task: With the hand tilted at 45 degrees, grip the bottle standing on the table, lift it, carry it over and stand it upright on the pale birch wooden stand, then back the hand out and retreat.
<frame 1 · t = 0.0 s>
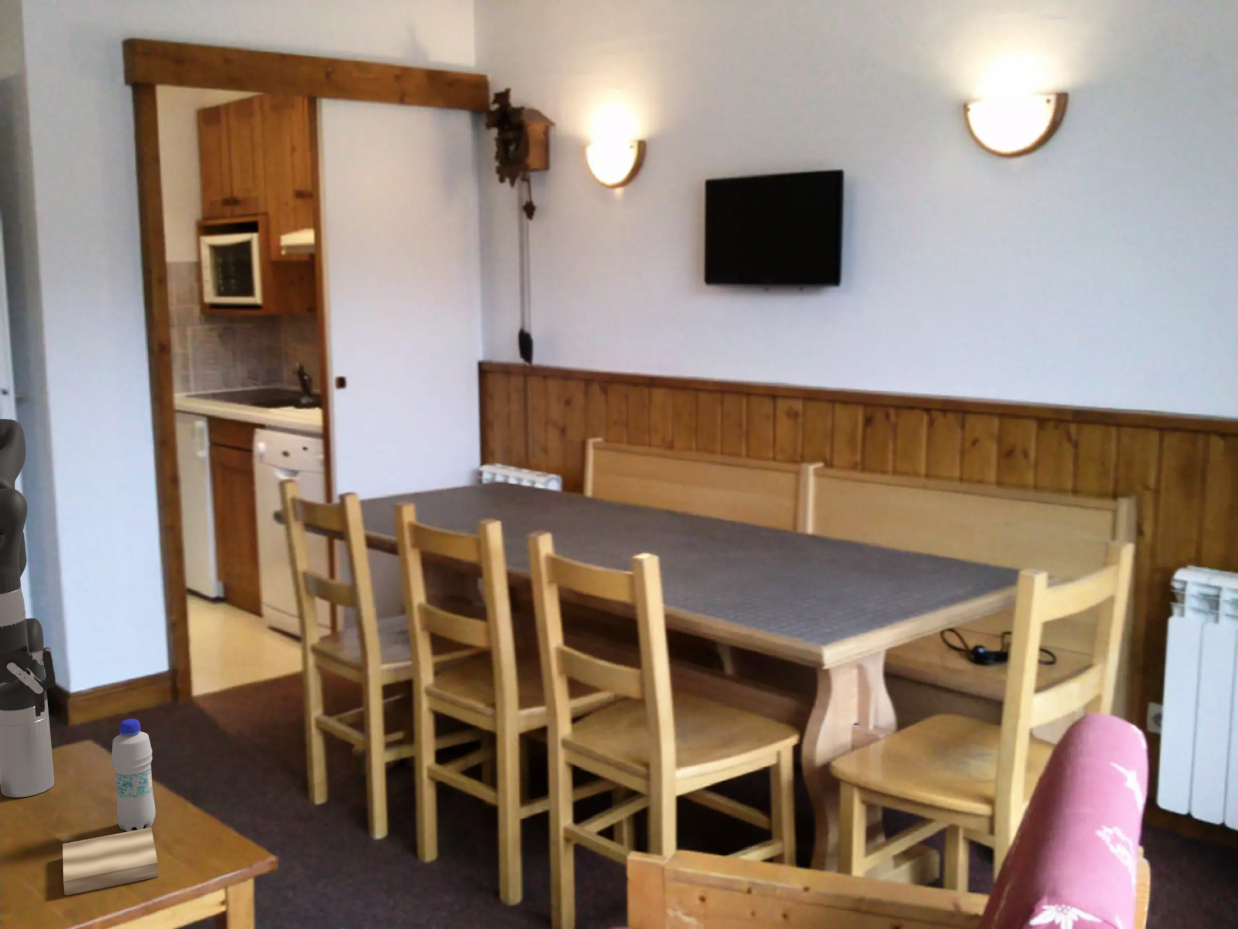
hand: (7, 719, 186), 29 cm above the table, tool pointing down, fingers open, 8 cm apart
birch stand: (110, 867, 200), on the table
bottle: (137, 828, 214), on the table
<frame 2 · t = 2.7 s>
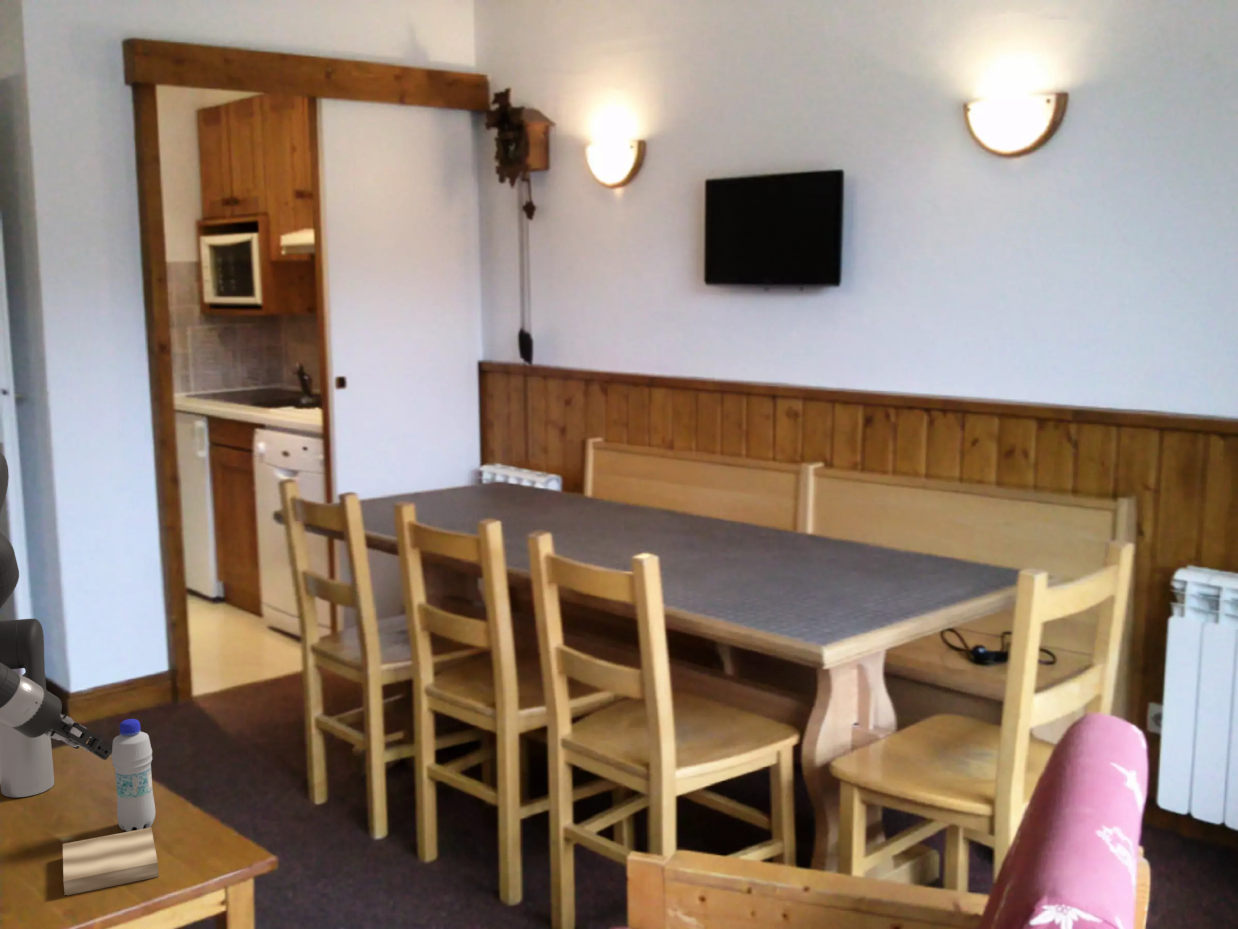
hand: (94, 749, 206), 17 cm above the table, tool tilted 45°, fingers open, 8 cm apart
nothing on the table moved.
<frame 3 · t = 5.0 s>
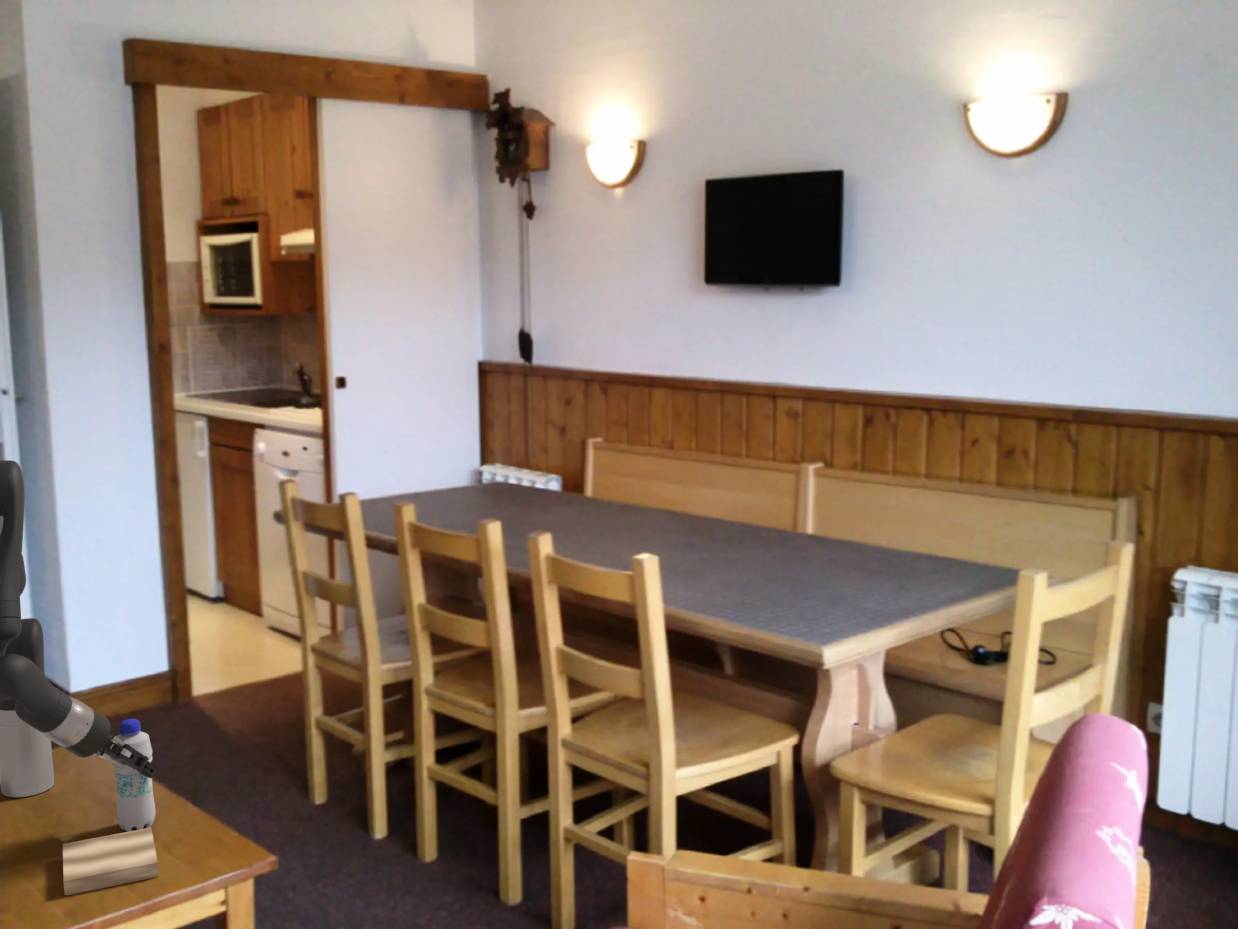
hand: (141, 768, 214), 10 cm above the table, tool tilted 45°, fingers closed on bottle, 6 cm apart
bottle: (137, 827, 214), on the table, touching gripper
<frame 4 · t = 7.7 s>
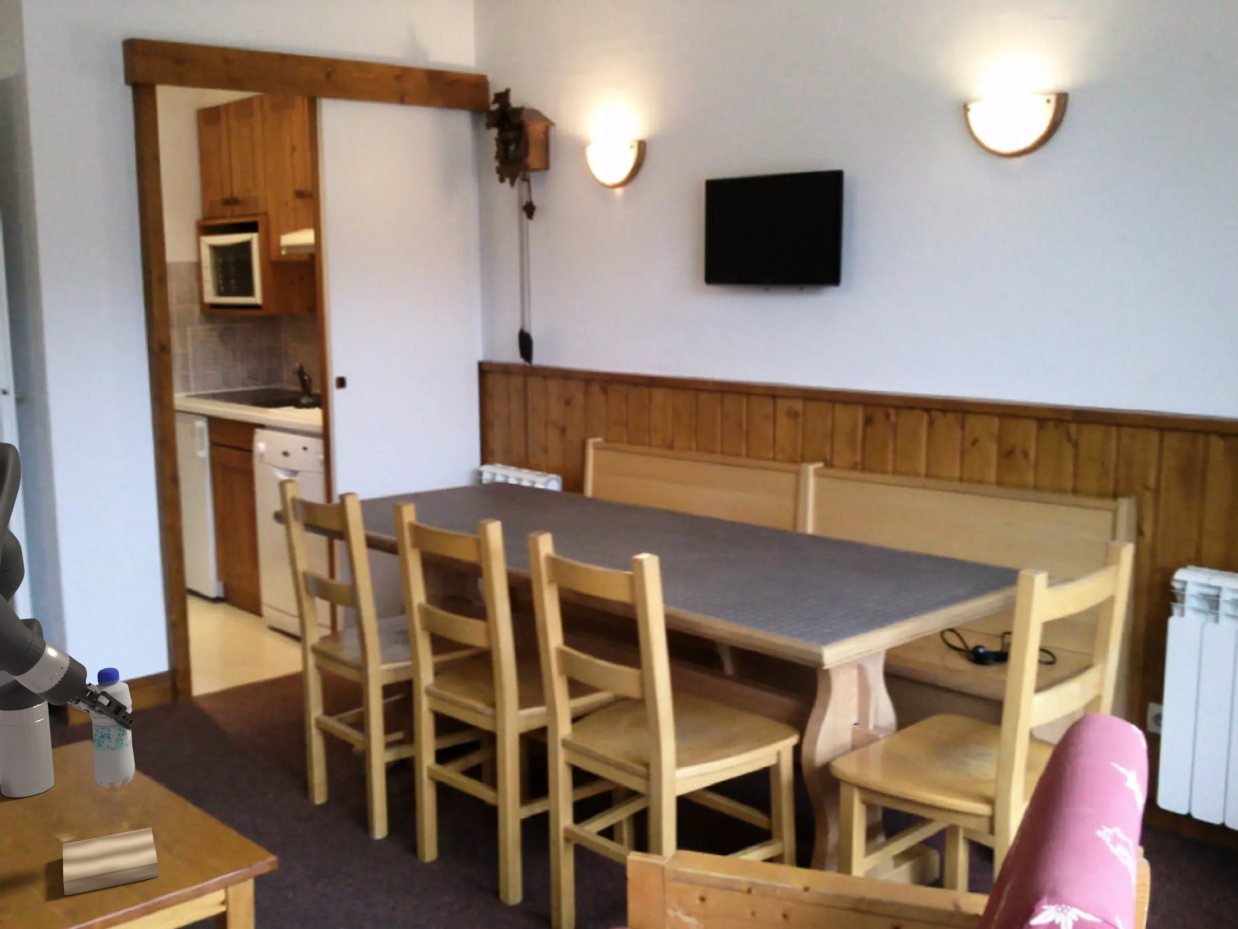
hand: (119, 720, 203), 23 cm above the table, tool tilted 45°, fingers closed on bottle, 6 cm apart
bottle: (115, 784, 203), point 12 cm above the table, touching gripper
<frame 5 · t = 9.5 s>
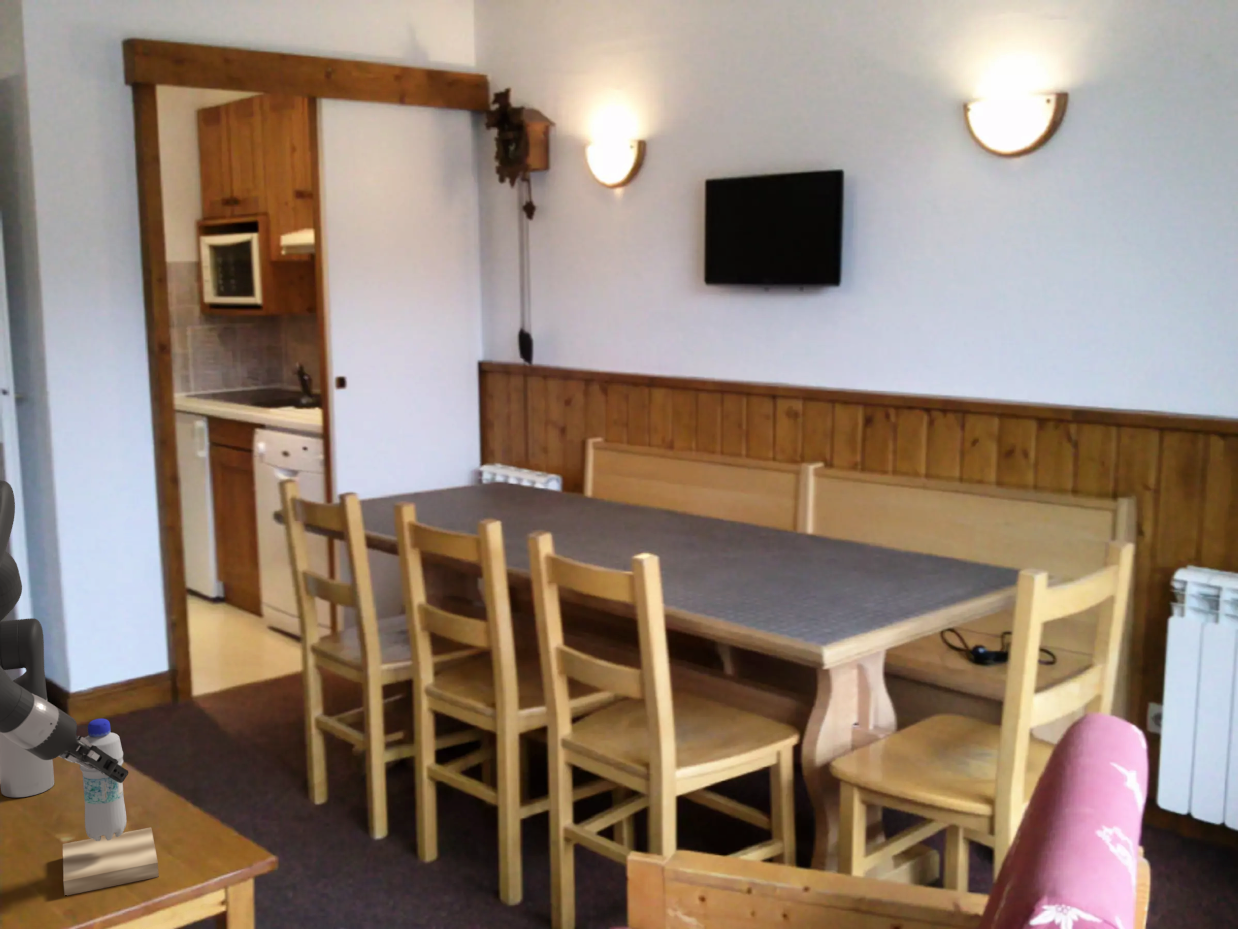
hand: (111, 772, 198), 16 cm above the table, tool tilted 45°, fingers closed on bottle, 6 cm apart
bottle: (106, 836, 199), point 6 cm above the table, touching gripper
when the fingers open (14 cm above the table, at t = 10.6 s): bottle drops 1 cm, resting on birch stand.
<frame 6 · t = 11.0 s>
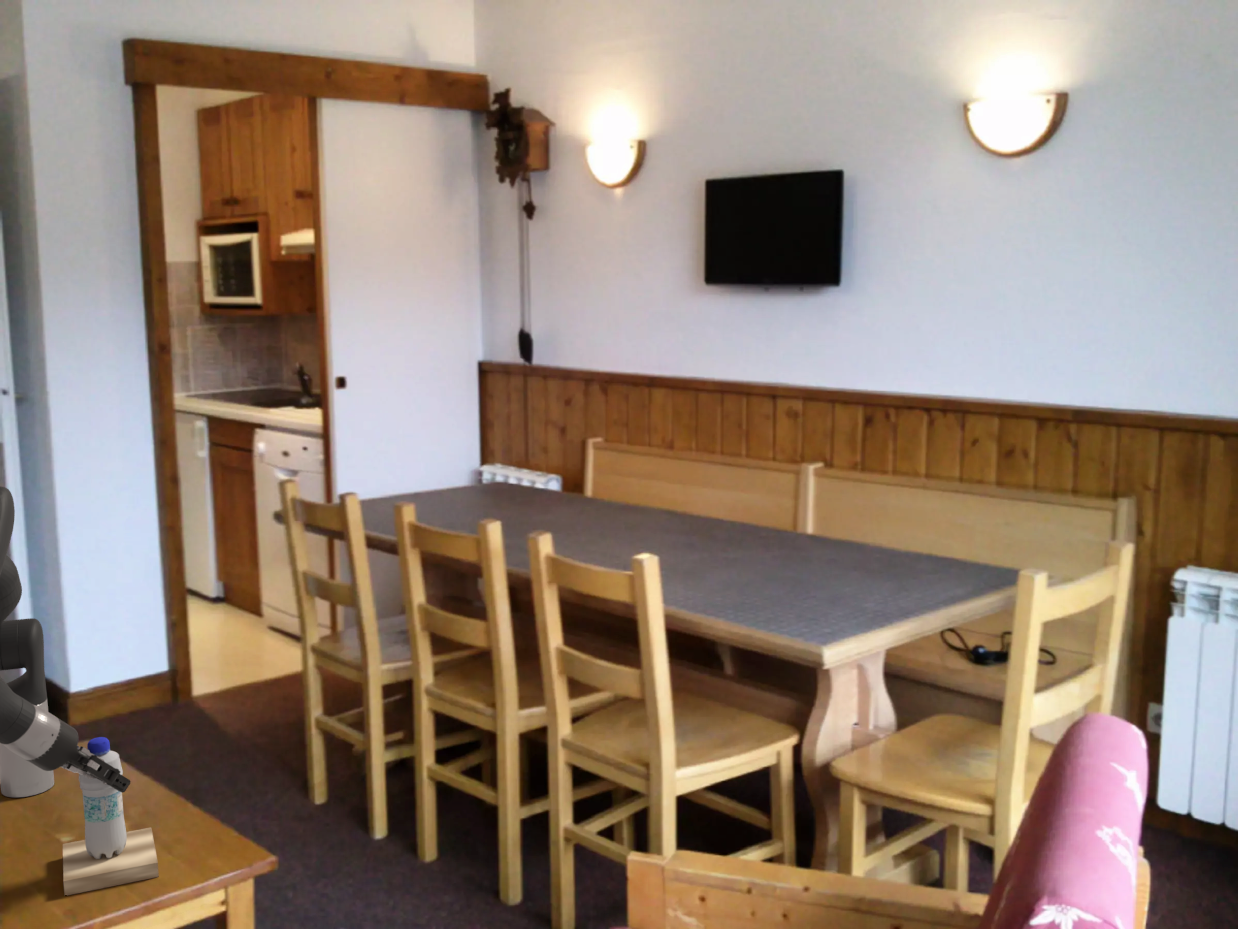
hand: (111, 781, 199), 15 cm above the table, tool tilted 45°, fingers open, 8 cm apart
bottle: (107, 854, 199), point 2 cm above the table, touching birch stand
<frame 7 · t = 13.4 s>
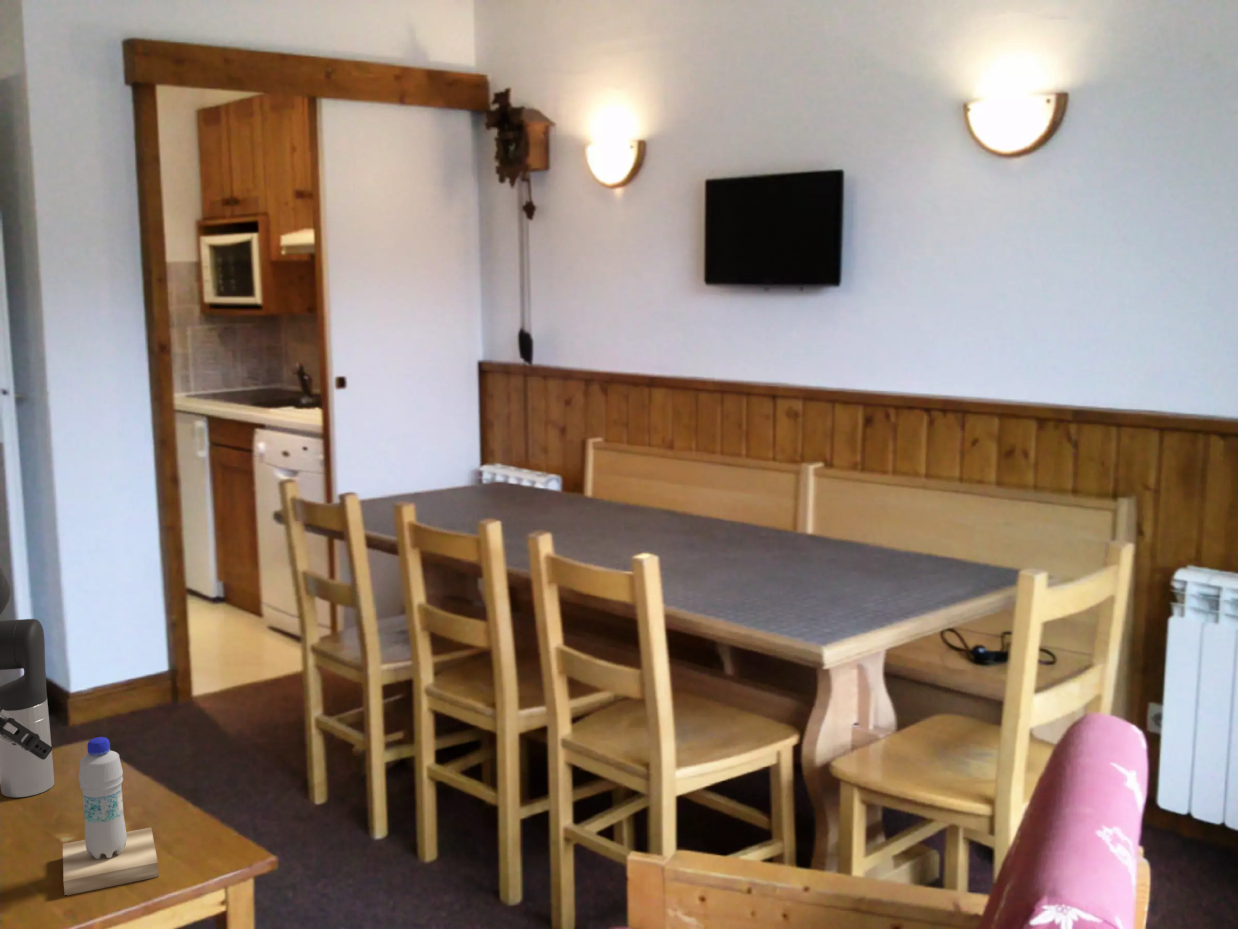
hand: (33, 746, 188), 24 cm above the table, tool tilted 45°, fingers open, 8 cm apart
nothing on the table moved.
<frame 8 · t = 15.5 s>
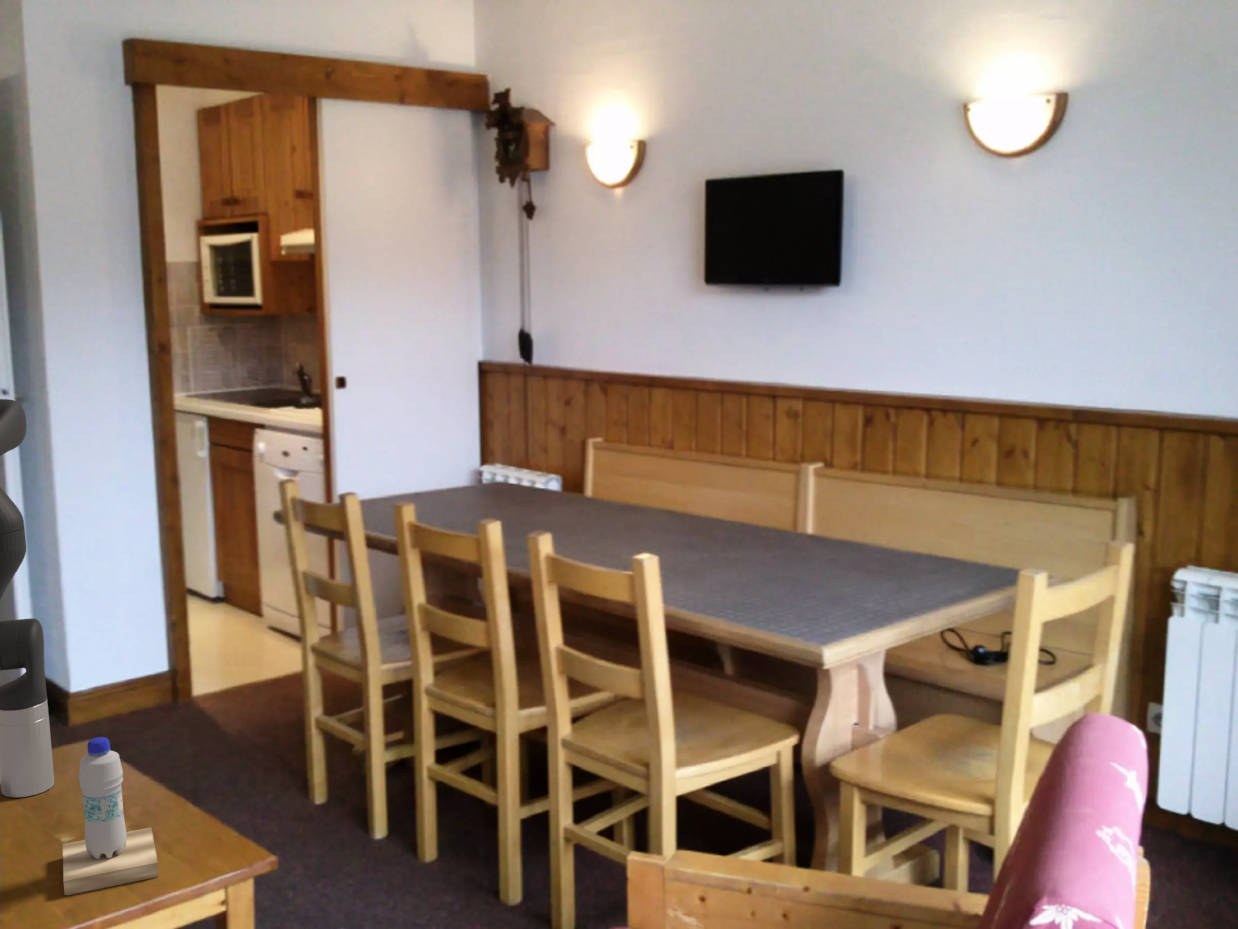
nothing on the table moved.
at the end: bottle inside the target area on the birch stand (0.4 cm from its centre), point 2.3 cm above the birch stand's base; bottle tilted 0°; the gripper is holding nothing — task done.
